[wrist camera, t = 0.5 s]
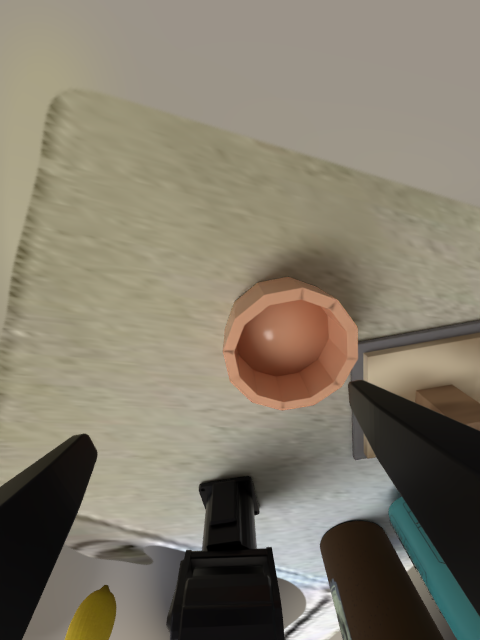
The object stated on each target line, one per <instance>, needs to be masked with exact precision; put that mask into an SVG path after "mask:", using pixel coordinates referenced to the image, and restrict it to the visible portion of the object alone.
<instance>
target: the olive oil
mask: <svg viewBox="0 0 480 640" xmlns="http://www.w3.org/2000/svg"><path fill="white" fill-rule="evenodd" d="M320 549H321V554H322V558H323V562H324V566H325V570H326V573H327V577H328V581H329V586H330V590H331V594H332V598H333V602H334V606H335V610H336V614H337V618H338V622H339V626H340V630H341V634H342V638H343V640H444V639H443V637H442V635H441V633H440V631H439V630H438V628H437V626H436V624H435V622H434V621H433V619H432V617H431V615H430V613H429V612H428V610H427V608H426V606H425V604H424V603H423V601H422V599H421V597H420V595H419V594H418V592H417V590H416V588H415V586H414V585H413V583H412V581H411V579H410V577H409V575H408V574H407V572H406V570H405V568H404V566H403V564H402V562H401V561H400V559H399V557H398V555H397V553H396V551H395V549H394V548H393V546H392V544H391V542H390V540H389V538H388V536H387V535H386V533H385V531H384V530H383V529H382V528H381V527H380V526H379V525H377V524H375V523H372V522H368V521H351V522H346V523H343V524H340V525H338V526H336V527H334V528H332V529H331V530H329V531H328V532H327V533H326V534H325V535H324V536H323V538H322V540H321V543H320Z"/></svg>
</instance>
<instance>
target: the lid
mask: <svg viewBox="0 0 480 640" xmlns="http://www.w3.org/2000/svg"><path fill="white" fill-rule="evenodd" d="M363 380H364V381H367V382H369V383H371V384H374V385H376V386H378V387H381V388H383V389H385V390H387V391H390V392H392V393H394V394H397V395H399V396H401V397H404V398H406V399H408V400H410V401H413V402H415V403H417V404H420V405H422V406H424V407H426V408H429V409H431V410H433V411H436V412H438V413H440V414H443V415H445V416H447V417H449V418H452V419H454V420H456V421H459V422H461V423H463V424H466V425H468V426H470V427H472V428H475V429H477V430H479V431H480V333H474V334H468V335H463V336H457V337H451V338H446V339H440V340H434V341H429V342H423V343H417V344H412V345H406V346H400V347H395V348H389V349H383V350H378V351H372V352H366V353H363ZM364 454H365V455H366V457H367V459H369V458H375V457H376V455H375V454H374V452H373V450H372V448H371V446H370V444H369V442H368V440H367V438H366V436H365V435H364Z"/></svg>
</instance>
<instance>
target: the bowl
mask: <svg viewBox="0 0 480 640" xmlns="http://www.w3.org/2000/svg"><path fill="white" fill-rule="evenodd" d="M223 354H224V358H225V362H226V366H227V371H228V375H229V379H230V382H231V383H232V384H233V385H234V386H235V387H236V388H237V389H238V390H240V391H241V392H242V393H243V394H244V395H245V396H246V397H247V398H248V399H249V400H250V401H251V402H253V403H256V404H260V405H264V406H267V407H271V408H275V409H278V410H288V409H294V408H300V407H306V406H312V405H315V404H317V403H318V402H320V401H321V400H323V399H324V398H326V397H327V396H329V395H330V394H332V393H333V392H335V391H336V390H338V389H339V388H341V387H342V385H343V384H344V382H345V380H346V379H347V377H348V375H349V373H350V372H351V370H352V368H353V367H354V365H355V363H356V361H357V360H358V327H357V325H356V324H355V323H354V321H353V320H352V319H351V317H350V316H349V314H348V313H347V312H346V310H345V309H344V308H343V306H342V305H341V304H340V302H339V301H338V300H337V299H336V298H334V297H332V296H331V295H329V294H327V293H326V292H324V291H323V290H321V289H319V288H318V287H316V286H313V285H310V284H307V283H305V282H302V281H299V280H296V279H294V278H291V277H284V278H278V279H273V280H268V281H263V282H258V283H256V284H255V285H254V286H253V287H252V288H250V289H249V290H248V291H247V292H246V293H244V294H243V295H242V296H241V297H240V298H239V299H237V300H236V301H235V302H234V304H233V307H232V310H231V313H230V315H229V318H228V321H227V324H226V327H225V332H224V344H223Z"/></svg>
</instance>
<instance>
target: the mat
mask: <svg viewBox="0 0 480 640" xmlns="http://www.w3.org/2000/svg"><path fill="white" fill-rule="evenodd" d="M474 333H480V320H478V321H473V322H467V323H461V324H456V325H450V326H445V327H439V328H433V329H428V330H422V331H416V332H411V333H405V334H400V335H394V336H388V337H383V338H377V339H372V340H366V341H360V342H358V360H357V361H356V363H355V365H354V367H353V368H352V370H351V381H355V380H363V353H366V352H372V351H378V350H383V349H389V348H395V347H400V346H406V345H412V344H417V343H423V342H429V341H434V340H440V339H446V338H451V337H457V336H463V335H468V334H474ZM352 435H353V457H354V459H355V460H359V459H365V458H367V457H366V455H365V454H364V433H363V431H362V429H361V427H360V425H359V423H358V421H357V419H356V417H355V415H354V413H353V411H352Z"/></svg>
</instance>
